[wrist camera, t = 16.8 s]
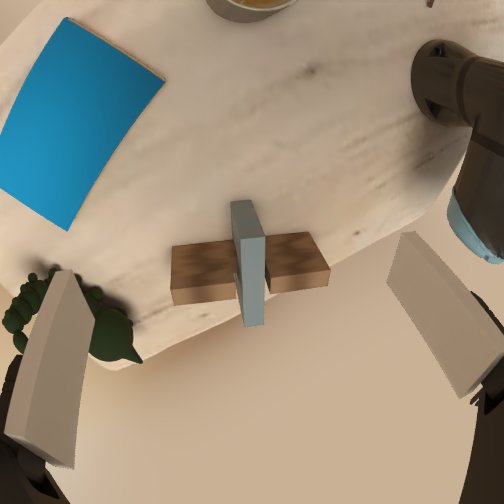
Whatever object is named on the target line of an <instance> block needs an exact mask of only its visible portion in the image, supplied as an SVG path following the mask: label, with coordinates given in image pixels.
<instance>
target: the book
mask: <svg viewBox="0 0 504 504" xmlns="http://www.w3.org/2000/svg"><path fill="white" fill-rule="evenodd" d="M164 80H165V78H163V77H162V76H161V75H159V74H158V73H156V72H155V71H153V70H152V69H151V68H149V67H148V66H146V65H145V64H143V63H142V62H140V61H139V60H137V59H136V58H134V57H133V56H131V55H130V54H128V53H127V52H125V51H124V50H122V49H121V48H119V47H118V46H116V45H114V44H113V43H111V42H110V41H108V40H107V39H105V38H103V37H102V36H100V35H99V34H97V33H95V32H94V31H92V30H90V29H89V28H87V27H85V26H84V25H82V24H80V23H78V22H77V21H75V20H73V19H71V18H68V17H66V18H64V19H63V20H62V22H61V23H60V25H59V26H58V27H57V29H56V30H55V32H54V33H53V35H52V36H51V38H50V39H49V41H48V42H47V44H46V46H45V47H44V49H43V50H42V52H41V54H40V55H39V57H38V59H37V60H36V62H35V64H34V66H33V67H32V69H31V71H30V73H29V75H28V76H27V78H26V80H25V82H24V84H23V86H22V88H21V90H20V92H19V94H18V96H17V98H16V100H15V102H14V104H13V106H12V109H11V111H10V113H9V115H8V118H7V120H6V122H5V125H4V127H3V130H2V132H1V135H0V188H1V189H2V190H4V191H5V192H7V193H8V194H10V195H11V196H13V197H14V198H16V199H17V200H19V201H20V202H22V203H23V204H25V205H26V206H28V207H29V208H31V209H32V210H34V211H35V212H37V213H38V214H40V215H41V216H43V217H45V218H46V219H48V220H49V221H51V222H53V223H54V224H56V225H57V226H59V227H61V228H62V229H64V230H65V231H68V230H69V228H70V226H71V224H72V222H73V220H74V218H75V216H76V214H77V212H78V210H79V209H80V207H81V205H82V203H83V201H84V200H85V198H86V196H87V194H88V193H89V191H90V189H91V187H92V186H93V184H94V182H95V181H96V179H97V177H98V176H99V174H100V172H101V171H102V169H103V168H104V166H105V164H106V163H107V161H108V160H109V158H110V157H111V155H112V153H113V152H114V150H115V149H116V147H117V146H118V144H119V143H120V141H121V140H122V139H123V137H124V136H125V134H126V133H127V131H128V130H129V129H130V127H131V126H132V124H133V123H134V122H135V120H136V119H137V117H138V116H139V115H140V113H141V112H142V111H143V109H144V108H145V107H146V105H147V104H148V103H149V102H150V100H151V99H152V98H153V96H154V95H155V94H156V93H157V91H158V90H159V89H160V88H161V87H162V85H163V84H164V83H165V81H164Z"/></svg>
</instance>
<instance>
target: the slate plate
mask: <svg viewBox="0 0 504 504" xmlns="http://www.w3.org/2000/svg"><path fill="white" fill-rule="evenodd" d="M231 218H232V235H233V239H234V243H235V248H236V252H237V260H238V273H235V284H236V289H237V294H238V299H239V304H240V308H241V313H242V318H243V323H244V327H250V326H257V325H264V288H265V235H264V232H263V230H262V227H261V225H260V222H259V219H258V217H257V214H256V212H255V209H254V207H253V204H252V201H251V200H246V201H235V202H231Z"/></svg>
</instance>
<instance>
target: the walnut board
mask: <svg viewBox="0 0 504 504" xmlns="http://www.w3.org/2000/svg"><path fill="white" fill-rule="evenodd" d="M330 271H331V269H330V268H329V266H328V264H327V263H326V261H325V259H324V257H323V256H322V254H321V252H320V250H319V249H318V247H317V245H316V244H315V242H314V240H313V239H312V237H311V235H310V234H309V232H302V233H292V234H283V235H273V236H265V279H266V282H267V285H268V288H269V292H270V294H275V293H283V292H290V291H296V290H303V289H310V288H316V287H323V286H328V281H329V277H330ZM233 273H238V260H237V252H236V248H235V243H234V240H226V241H217V242H208V243H199V244H190V245H181V246H173V247H172V263H171V285H170V290H171V295H172V299H173V302H174V306H176V305H186V304H195V303H204V302H213V301H221V300H230V299H236V288H235V279H234V274H233Z"/></svg>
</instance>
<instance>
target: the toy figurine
mask: <svg viewBox="0 0 504 504" xmlns="http://www.w3.org/2000/svg"><path fill="white" fill-rule="evenodd" d="M56 271H58V270H57V269H56V268H53V269H50V271H49V278H47V279H45V280H44V281H43V280H37V279H38V278H37V275H36V274H35V273H30V274H29V275H28V280H29V282H26V284H22V285H21V287H20V291H21V292H20V294H19V296H17V297H15V298H13V300H12V304H11V306H10V308H9V310H6V312H5V316H4V319H3V320H2V324H3V325H4V326H5V328H6V329H7V331H8V332H10V333H12V334H14V335H13V343H14V345H15V347H16V348H17V349H18V351H19V352H20V353H22V354H23V355H24V352H25V348H26V345H27V342H28V338H27V337H26V335H25V334H24V333H23V332H21V331H22V330H23V327H24V325H26V324H28V323H29V321H30V320H31V318H32V315H35V314H36V313H38V311H39V310H40V307H41V305H42V302H43V300H44V297H45V295H46V293H47V290H48V288H49V286H50V283H51V281H52V279H53V277H54V274H55V272H56ZM75 278H76V280H77V282H78V285H80V284H81V278H80V277H79V276H77V275H75ZM80 289H81V288H80ZM81 291H82V290H81ZM82 293H83V292H82ZM83 296H84V298H85V300H86V302H87V304H88V306H89V308H90V310H91V312H92V314H93V316H94V318H95V323H94V328H93V332H92V337H91V341H90V346H89V351H88V352H89V353H90V354H91V355H92V356H94V357H95V358H97V359H99V360H102V361H107V362H112V361H117V360H120V359H122V358H123V359H127V360H130V361H133V362H136V363H139V364H142V363H143V361H142V359H141V358H140V356H139V355H138V353H137V352H136V350H135V349H134V347H133V328H132V326H133V322H132V320H130V319H128V318H127V314H126V312H125V311H124V310H122V309H113V308H107V307H102V306H101V304H100V302H101V300H102V296H103V295H102V292H101V291H100V290H99V289H92V290H91V291H90V292H89V294H87V293H83Z"/></svg>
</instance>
